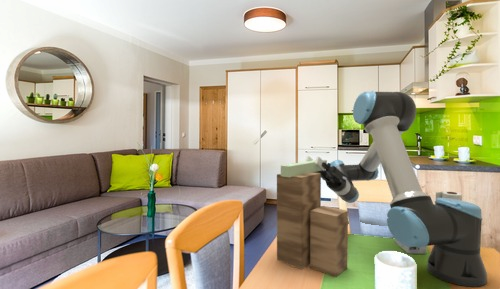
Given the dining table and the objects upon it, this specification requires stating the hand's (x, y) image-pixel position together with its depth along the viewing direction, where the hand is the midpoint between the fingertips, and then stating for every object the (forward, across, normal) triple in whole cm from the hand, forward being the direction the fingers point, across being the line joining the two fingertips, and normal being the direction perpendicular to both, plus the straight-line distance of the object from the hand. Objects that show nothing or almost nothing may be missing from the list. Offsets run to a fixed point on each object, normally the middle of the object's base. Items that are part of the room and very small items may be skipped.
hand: (311, 159), depth 106 cm
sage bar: (+2, 0, -6) cm, 6 cm away
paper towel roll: (-49, -36, -11) cm, 62 cm away
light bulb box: (-41, -26, -16) cm, 51 cm away
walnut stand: (-10, -5, -34) cm, 36 cm away
